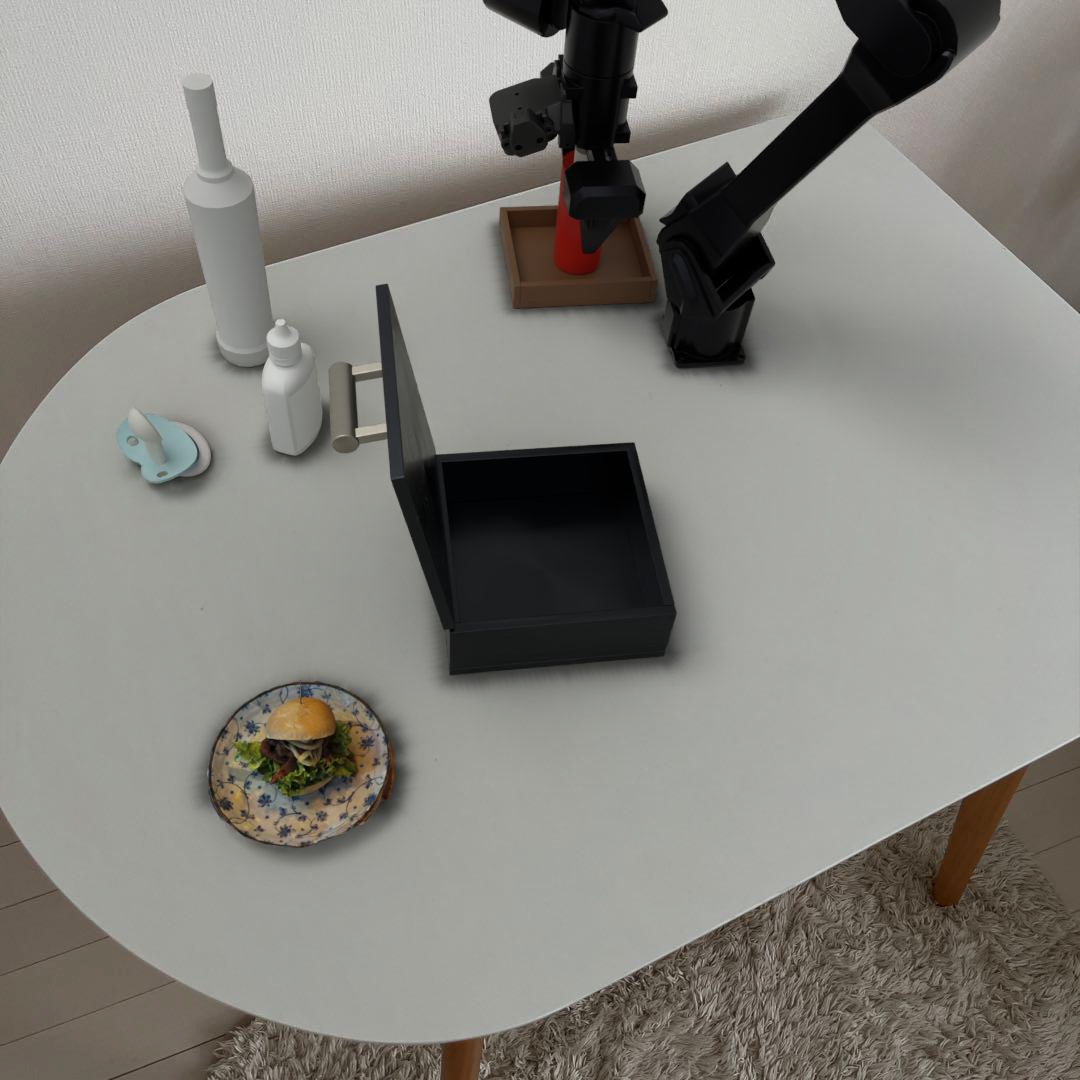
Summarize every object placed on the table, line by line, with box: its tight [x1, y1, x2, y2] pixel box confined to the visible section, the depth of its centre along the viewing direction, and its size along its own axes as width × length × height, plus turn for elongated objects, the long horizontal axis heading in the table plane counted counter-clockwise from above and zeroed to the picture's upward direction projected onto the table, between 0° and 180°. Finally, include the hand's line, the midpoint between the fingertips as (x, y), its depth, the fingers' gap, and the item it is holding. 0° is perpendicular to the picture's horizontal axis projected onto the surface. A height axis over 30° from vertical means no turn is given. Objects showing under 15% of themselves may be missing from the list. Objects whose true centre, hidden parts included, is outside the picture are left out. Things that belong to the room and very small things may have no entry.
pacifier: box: [115, 407, 212, 484], centre depth 86 cm, size 7×6×6 cm
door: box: [327, 283, 455, 631], centre depth 71 cm, size 16×16×4 cm
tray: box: [498, 204, 659, 309], centre depth 104 cm, size 13×11×3 cm
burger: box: [206, 679, 395, 849], centre depth 71 cm, size 12×12×8 cm
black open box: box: [436, 441, 678, 676], centre depth 82 cm, size 16×16×6 cm
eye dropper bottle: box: [261, 318, 323, 456], centre depth 86 cm, size 4×6×12 cm
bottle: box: [181, 72, 276, 368], centre depth 86 cm, size 5×5×25 cm
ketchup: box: [553, 146, 602, 275], centre depth 100 cm, size 4×4×12 cm
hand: (579, 219), depth 101 cm, fingers open, 9 cm apart
